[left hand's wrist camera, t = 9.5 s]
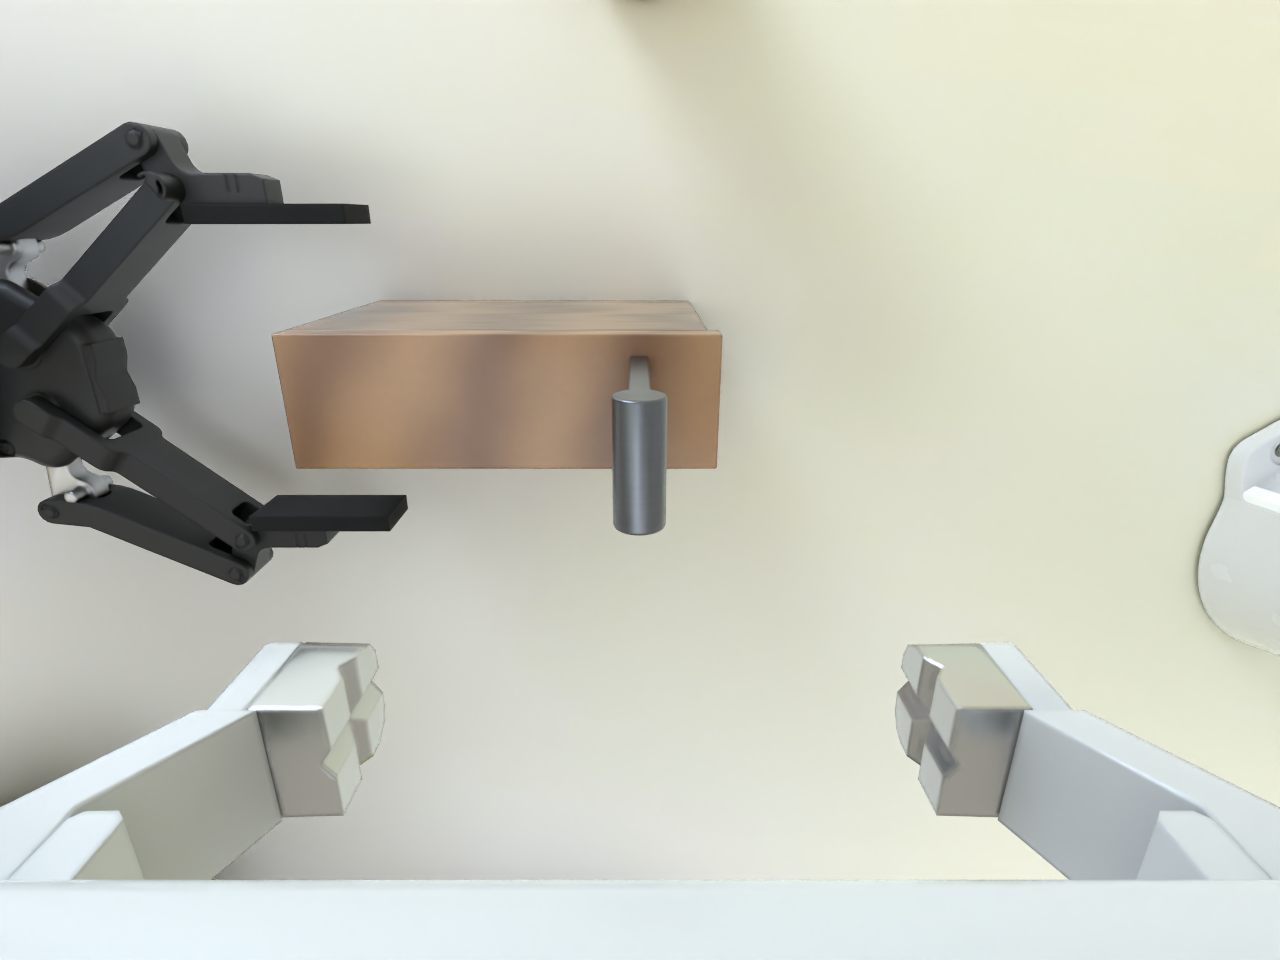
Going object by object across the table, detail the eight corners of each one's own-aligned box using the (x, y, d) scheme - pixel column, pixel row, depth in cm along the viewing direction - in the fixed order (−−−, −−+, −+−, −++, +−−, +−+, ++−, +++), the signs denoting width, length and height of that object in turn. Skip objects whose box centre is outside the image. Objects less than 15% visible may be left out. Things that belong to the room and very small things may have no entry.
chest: (689, 300, 36) (707, 330, 26) (686, 398, 38) (703, 459, 28) (379, 300, 36) (285, 329, 26) (392, 398, 38) (308, 459, 28)
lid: (719, 330, 26) (755, 378, 18) (714, 460, 28) (744, 555, 20) (284, 329, 26) (128, 378, 18) (307, 460, 28) (175, 556, 20)
